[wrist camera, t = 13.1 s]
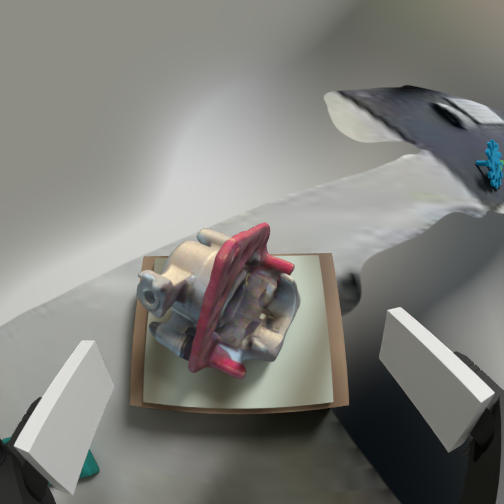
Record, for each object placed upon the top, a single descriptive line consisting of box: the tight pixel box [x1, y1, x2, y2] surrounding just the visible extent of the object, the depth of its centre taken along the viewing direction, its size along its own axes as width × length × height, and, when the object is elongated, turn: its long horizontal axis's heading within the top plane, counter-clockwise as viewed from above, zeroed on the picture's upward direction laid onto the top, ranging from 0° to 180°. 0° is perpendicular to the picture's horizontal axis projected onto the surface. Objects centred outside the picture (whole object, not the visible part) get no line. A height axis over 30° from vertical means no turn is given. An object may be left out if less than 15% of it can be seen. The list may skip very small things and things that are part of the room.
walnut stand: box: [130, 253, 349, 414], centre depth 24 cm, size 18×14×5 cm
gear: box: [476, 140, 504, 189], centre depth 38 cm, size 11×6×10 cm
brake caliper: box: [137, 223, 301, 380], centre depth 19 cm, size 11×11×12 cm
